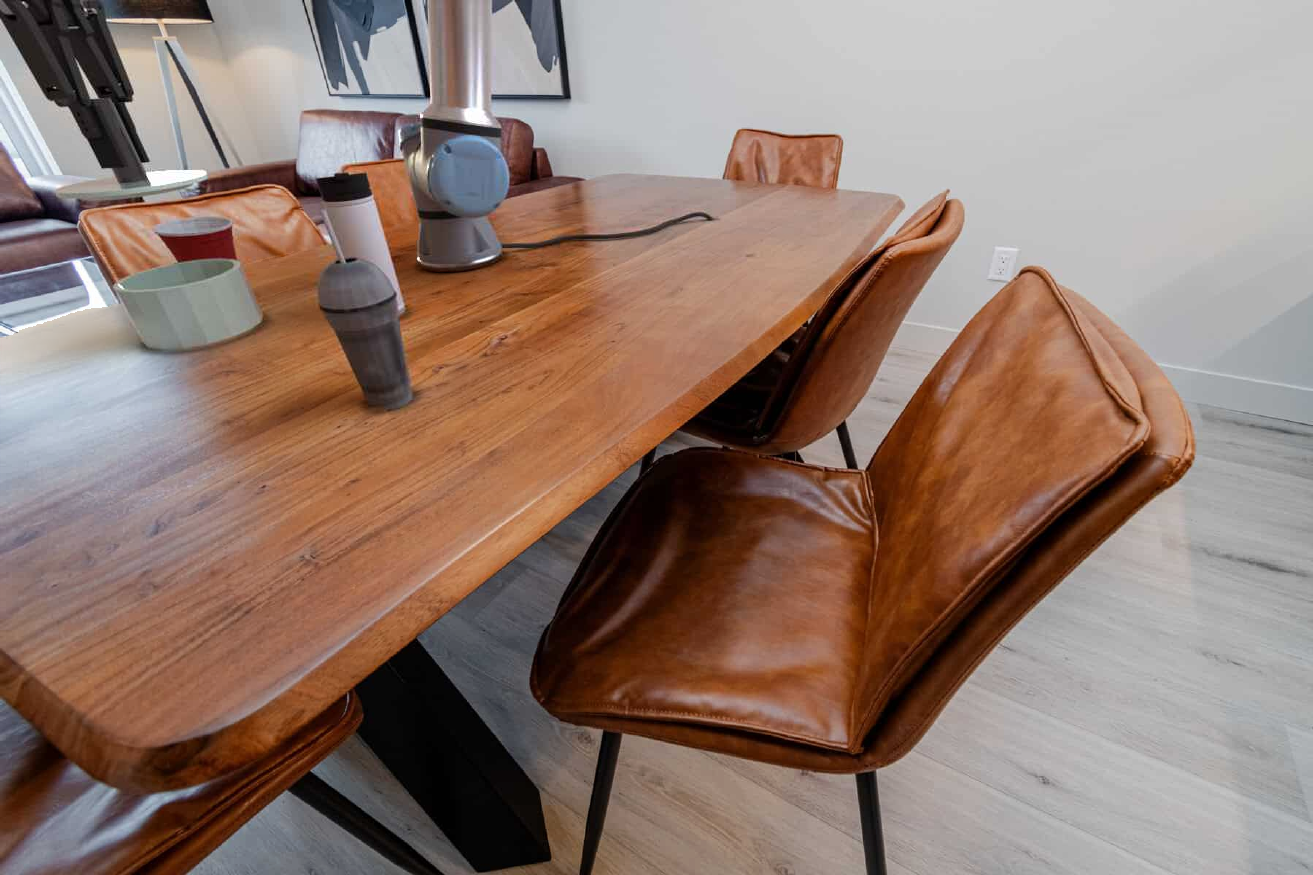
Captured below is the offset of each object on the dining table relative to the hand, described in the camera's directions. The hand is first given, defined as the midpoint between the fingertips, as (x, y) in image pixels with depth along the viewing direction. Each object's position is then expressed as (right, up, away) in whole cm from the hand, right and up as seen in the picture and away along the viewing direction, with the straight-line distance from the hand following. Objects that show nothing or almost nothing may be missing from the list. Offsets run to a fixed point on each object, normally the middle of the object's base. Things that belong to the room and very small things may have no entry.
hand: (126, 164), depth 74 cm
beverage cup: (+36, -30, -8) cm, 48 cm away
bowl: (+1, -19, +13) cm, 22 cm away
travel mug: (+25, -16, +15) cm, 33 cm away
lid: (0, -2, +1) cm, 2 cm away
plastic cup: (-7, -10, +27) cm, 30 cm away
